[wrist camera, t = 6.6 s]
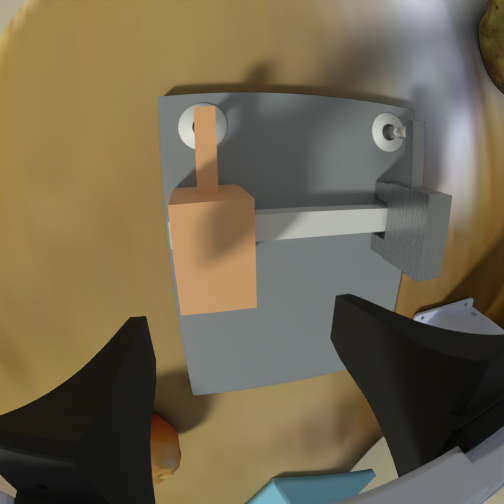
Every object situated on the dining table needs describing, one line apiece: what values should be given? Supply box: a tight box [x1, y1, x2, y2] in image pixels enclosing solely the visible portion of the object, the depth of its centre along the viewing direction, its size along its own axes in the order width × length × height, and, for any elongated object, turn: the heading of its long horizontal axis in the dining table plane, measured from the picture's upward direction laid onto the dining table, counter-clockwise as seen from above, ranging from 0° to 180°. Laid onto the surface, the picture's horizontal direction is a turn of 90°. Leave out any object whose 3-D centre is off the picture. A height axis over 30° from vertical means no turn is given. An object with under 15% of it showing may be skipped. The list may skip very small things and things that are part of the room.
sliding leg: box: [168, 106, 257, 316], centre depth 15 cm, size 4×9×6 cm, turn 0°
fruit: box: [150, 413, 181, 486], centre depth 22 cm, size 8×8×8 cm
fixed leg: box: [370, 120, 452, 282], centre depth 17 cm, size 2×9×6 cm, turn 0°
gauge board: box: [158, 92, 414, 396], centre depth 21 cm, size 18×22×2 cm
